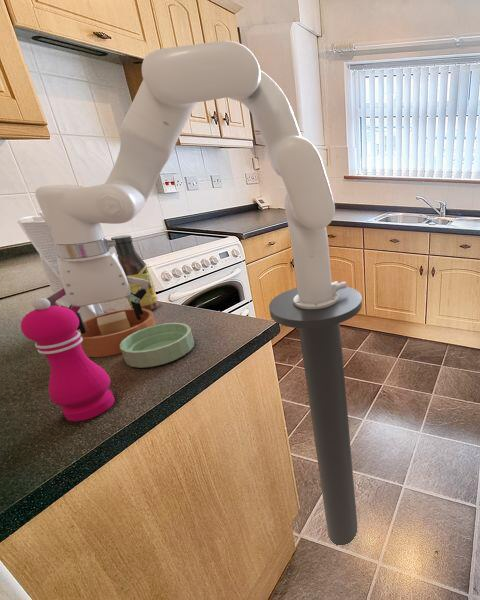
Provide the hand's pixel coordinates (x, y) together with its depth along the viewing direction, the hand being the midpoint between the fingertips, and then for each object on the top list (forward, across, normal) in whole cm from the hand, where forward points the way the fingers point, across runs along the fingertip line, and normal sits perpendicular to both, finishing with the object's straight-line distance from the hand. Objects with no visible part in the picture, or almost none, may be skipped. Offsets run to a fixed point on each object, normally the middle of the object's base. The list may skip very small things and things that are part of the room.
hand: (112, 324), depth 75 cm
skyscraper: (+4, +5, -16) cm, 17 cm away
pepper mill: (+4, +6, +25) cm, 26 cm away
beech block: (+4, 0, 0) cm, 4 cm away
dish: (+4, -6, +13) cm, 15 cm away
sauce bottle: (+4, -7, -16) cm, 18 cm away
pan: (+4, 0, 0) cm, 4 cm away
